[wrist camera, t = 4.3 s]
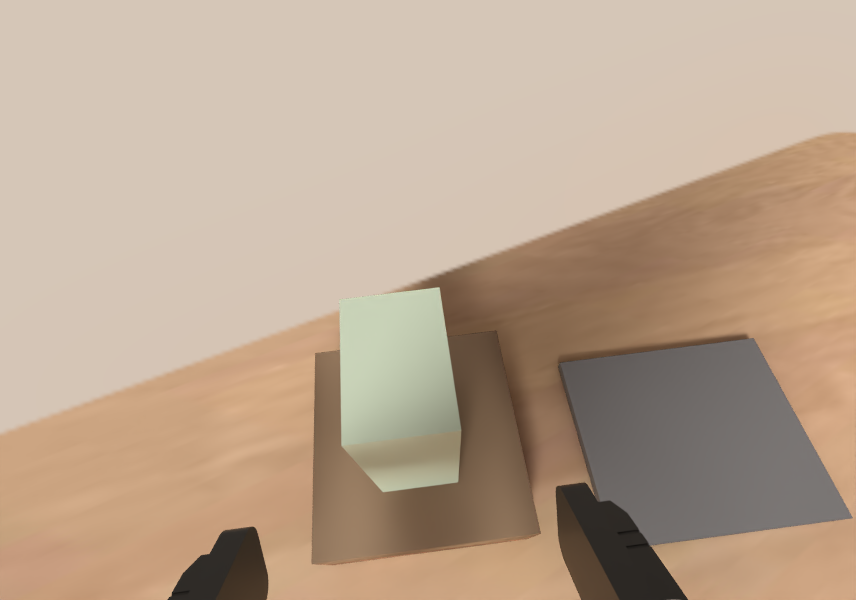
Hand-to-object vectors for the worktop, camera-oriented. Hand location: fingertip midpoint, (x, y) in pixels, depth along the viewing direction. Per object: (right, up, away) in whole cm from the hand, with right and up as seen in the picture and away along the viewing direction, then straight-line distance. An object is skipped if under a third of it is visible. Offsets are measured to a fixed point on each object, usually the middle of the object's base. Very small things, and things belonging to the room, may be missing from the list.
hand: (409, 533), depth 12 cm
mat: (+15, -1, +13) cm, 20 cm away
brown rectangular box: (0, -2, +14) cm, 14 cm away
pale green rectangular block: (0, 0, +10) cm, 10 cm away
